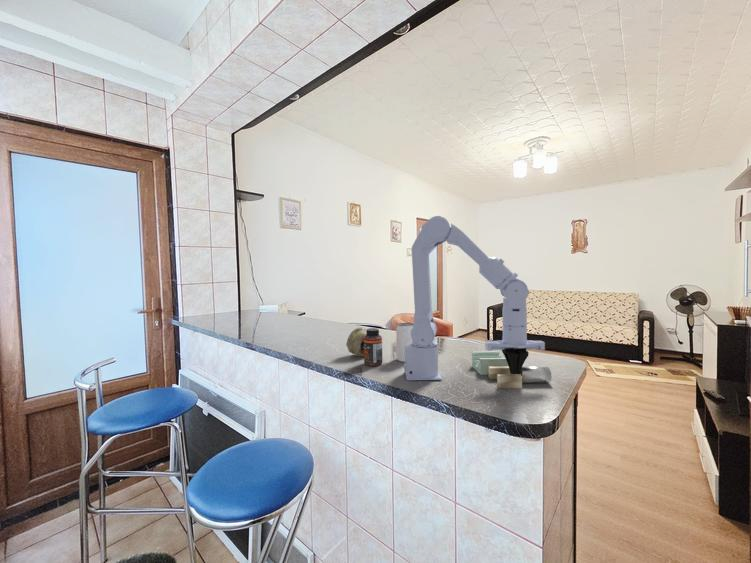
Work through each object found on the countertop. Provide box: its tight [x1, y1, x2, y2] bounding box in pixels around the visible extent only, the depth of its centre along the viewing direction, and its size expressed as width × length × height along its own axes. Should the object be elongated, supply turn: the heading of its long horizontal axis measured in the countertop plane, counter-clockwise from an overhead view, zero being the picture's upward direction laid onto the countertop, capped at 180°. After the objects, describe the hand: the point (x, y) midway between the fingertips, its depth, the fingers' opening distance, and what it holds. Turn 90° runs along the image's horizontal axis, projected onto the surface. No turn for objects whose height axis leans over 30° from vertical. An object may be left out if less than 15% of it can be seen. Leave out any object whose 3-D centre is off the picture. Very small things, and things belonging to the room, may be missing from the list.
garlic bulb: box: [345, 326, 367, 358], centre depth 108 cm, size 9×8×10 cm
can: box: [395, 322, 414, 363], centre depth 102 cm, size 6×6×12 cm
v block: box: [471, 350, 508, 376], centre depth 90 cm, size 8×8×4 cm
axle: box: [520, 365, 552, 384], centre depth 79 cm, size 7×4×4 cm, turn 88°
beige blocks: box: [487, 366, 523, 389], centre depth 80 cm, size 6×8×3 cm
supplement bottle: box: [363, 327, 383, 367], centre depth 98 cm, size 6×6×11 cm
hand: (514, 377), depth 80 cm, fingers closed
